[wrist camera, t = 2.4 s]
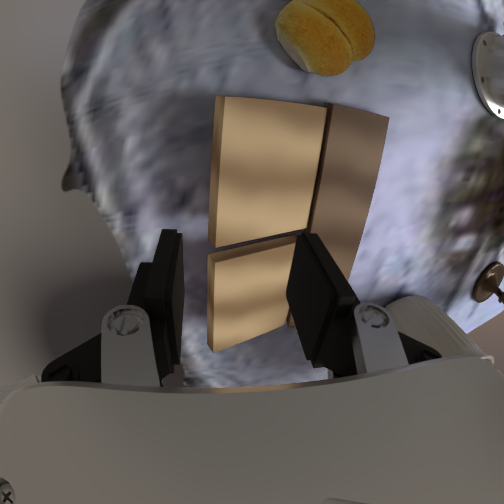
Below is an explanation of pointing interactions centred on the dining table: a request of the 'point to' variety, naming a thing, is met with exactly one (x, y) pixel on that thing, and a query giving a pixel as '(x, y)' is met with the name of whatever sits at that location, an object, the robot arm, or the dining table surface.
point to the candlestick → (489, 283)
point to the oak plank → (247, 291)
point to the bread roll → (325, 34)
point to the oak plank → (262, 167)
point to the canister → (432, 327)
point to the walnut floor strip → (345, 181)
